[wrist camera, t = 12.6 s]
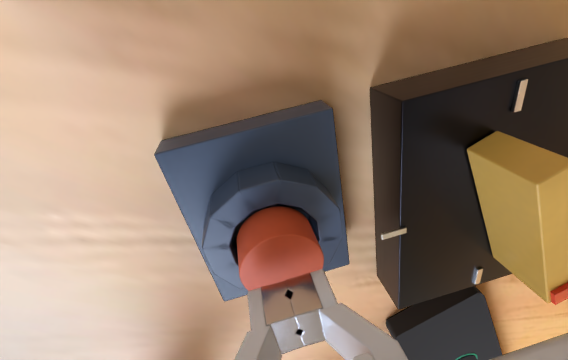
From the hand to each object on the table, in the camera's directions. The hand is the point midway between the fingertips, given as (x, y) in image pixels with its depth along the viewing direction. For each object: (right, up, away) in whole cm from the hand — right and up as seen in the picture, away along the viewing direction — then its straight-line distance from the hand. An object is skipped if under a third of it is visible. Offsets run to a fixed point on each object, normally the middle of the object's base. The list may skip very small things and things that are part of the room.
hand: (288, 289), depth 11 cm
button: (-1, +2, +3) cm, 3 cm away
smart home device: (+17, -13, +18) cm, 28 cm away
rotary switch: (+11, +4, +7) cm, 14 cm away
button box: (-1, +3, +5) cm, 6 cm away
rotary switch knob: (+11, +3, +4) cm, 13 cm away
